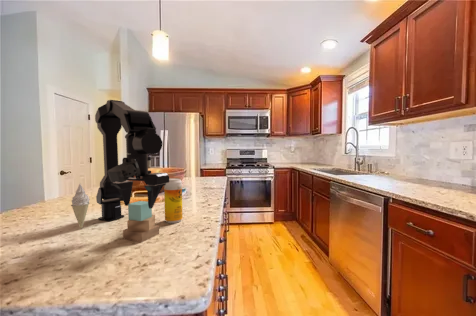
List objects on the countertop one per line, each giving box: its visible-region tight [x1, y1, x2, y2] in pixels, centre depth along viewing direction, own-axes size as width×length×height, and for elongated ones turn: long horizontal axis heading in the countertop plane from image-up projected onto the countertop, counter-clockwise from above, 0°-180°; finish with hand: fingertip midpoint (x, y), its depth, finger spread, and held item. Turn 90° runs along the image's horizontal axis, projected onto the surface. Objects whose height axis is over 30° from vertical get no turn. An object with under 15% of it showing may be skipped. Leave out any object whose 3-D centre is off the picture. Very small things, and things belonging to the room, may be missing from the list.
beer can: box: [163, 177, 183, 224], centre depth 85 cm, size 6×6×15 cm
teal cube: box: [127, 200, 153, 221], centre depth 70 cm, size 4×4×4 cm
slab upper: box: [126, 214, 156, 231], centre depth 71 cm, size 6×6×3 cm
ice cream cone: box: [70, 183, 90, 230], centre depth 78 cm, size 5×5×15 cm
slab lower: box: [122, 224, 160, 243], centre depth 71 cm, size 7×7×3 cm
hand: (138, 206), depth 70 cm, fingers open, 9 cm apart
